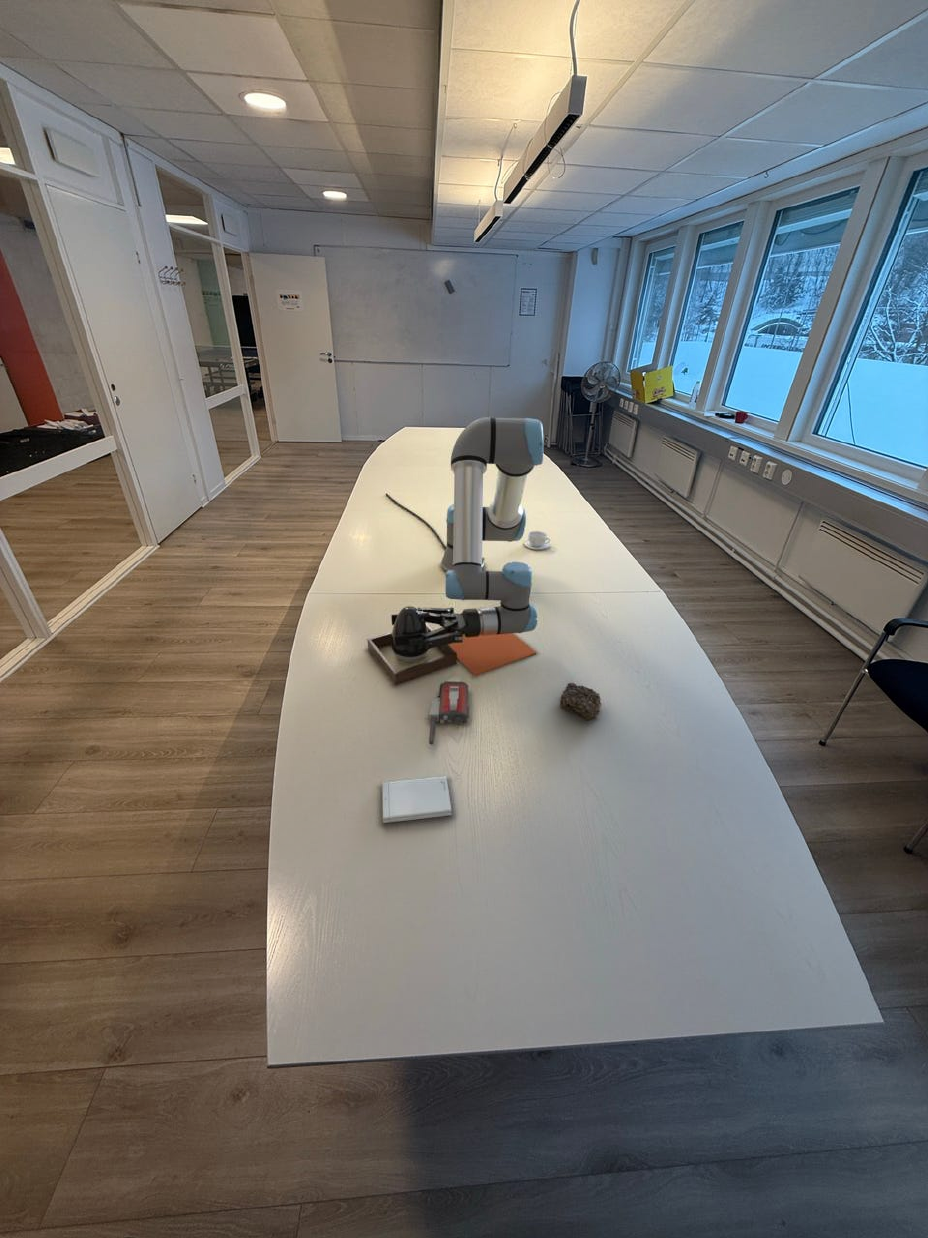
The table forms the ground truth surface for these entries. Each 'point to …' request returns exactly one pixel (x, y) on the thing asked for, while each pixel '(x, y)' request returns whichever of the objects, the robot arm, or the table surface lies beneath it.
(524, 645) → the mat
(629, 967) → the table surface
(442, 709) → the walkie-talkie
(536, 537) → the teacup
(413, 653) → the pump dispenser
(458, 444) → the robot arm
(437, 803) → the hard drive
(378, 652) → the brown wooden square frame
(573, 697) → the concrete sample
